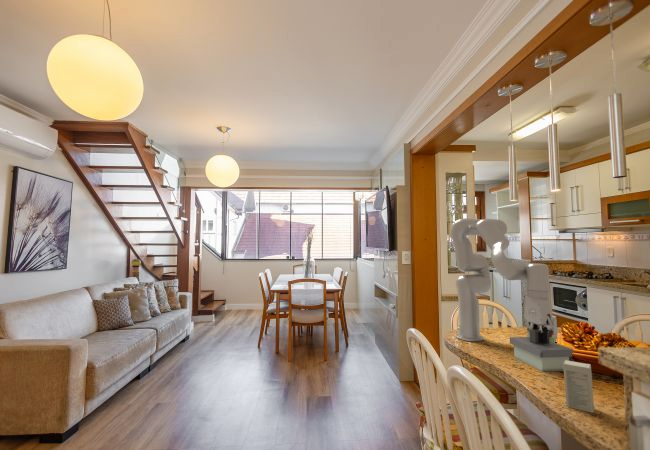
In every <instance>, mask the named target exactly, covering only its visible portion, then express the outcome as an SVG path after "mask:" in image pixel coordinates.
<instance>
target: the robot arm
mask: <svg viewBox="0 0 650 450" xmlns="http://www.w3.org/2000/svg"><path fill="white" fill-rule="evenodd" d="M507 232H508V226H507V223H506V222H505V221H503V220H501V219H496V218H493V219H492V218H483V219H479V218H461V219H460V218H459V219H457V220H455V221H453V224H452V226H451V228H450V235H451V240H452V243H453V247H454V254H455V255H454V256H455V262H456V267H457V269H458V271H459V272H462V273H463V272H464V273H473V274H463V275H460V276H458V277H457V279H456V282H455V286H456V292H457V296H458V297H457V298H458V301H457V302H458V326H457V330H458V332H457V333H456V334H455V337H456V338H457V339H459V340H461V341H466V342H473V343H474V342H477V343H478V342H482V341H484V336H482V335H480V333H481V330H480V324H481V323H480V322H481V321H480V302H479V298H478V297H477V296H476V294H484V293H485V294H486V293H487V292H489V291H490V290H491V287H492V282H491V281H492V280H491V272H490V267H489V261H488V259H487V258H486V256H485V255H483V254H482V253H474V249H473V244H472V243H471V240H470V239H469V238H468V237H467V236H475V237H476V236H479V237H481V239H482V240H483V241H484V243H485V244H486V245H487V247H488V248H489V250H490V251H491V252H490V259H491V262H492V265H493V267H494V268H495V269H496V271H497V272H498V273H499V275H500V276H501V277H502V278H504V279H505V280H507V281H526V296H525V299H524V308H523V309H524V311H523V312H524V313H523V314H524V315H523V317H524V320H525V321H526V323H527V322H528V323H529V325H530V329H539V328H540V332H539V343H547V342H548V341H547V333H548V332H549V330H551V329H553V328H554V327H553V316H554V315H553V313H554V312H553V306H552V302H551V299H550V298H551V297H550V275H549V274H550V271H549V266H548V265H547V264H546V263H536V262H535V263H534V262H533V263H532V262H527V261H510V259H509V258H508V257H507V255H506V254H505V253H504V252H505V250H506V249H507V248H509V246H510V240H509V238H508V237H507V236H506V234H507ZM543 326H545V327H544V328H543Z"/></svg>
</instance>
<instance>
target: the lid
mask: <svg viewBox="0 0 650 450" xmlns="http://www.w3.org/2000/svg"><path fill="white" fill-rule="evenodd" d="M529 330H530V337H527V336H511V337H509V345H512V346H513V347H514V346H517V347H519V348H521V349H523V350H526V351H528V352H530V353H532V354H535V355H537V356H539V357H541V358H544V357H569V358H570V357H574V356H572V355H571V354H572V353H573V354H574V349H573V348H570V347H568V346H565V345H563V344H559V343H558V342H557V343H555V342H552V341H550V340H549V332H548V333H547V341H548V342H547V343H539V332H540V329H529Z"/></svg>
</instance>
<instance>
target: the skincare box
mask: <svg viewBox="0 0 650 450" xmlns="http://www.w3.org/2000/svg"><path fill="white" fill-rule="evenodd" d="M563 366H564V371H563V378H564V392H565V406H566V407H568V408H572V409H575V410H579V411H580V410H581V411H583V412H588V413H594V411H595V402H594V401H595V400H594V390H593V389H594V387H593V376H592V366H591V364H590V363H584V362H578V361H572V360H569V361H568V360H565V361H564V363H563Z"/></svg>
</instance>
